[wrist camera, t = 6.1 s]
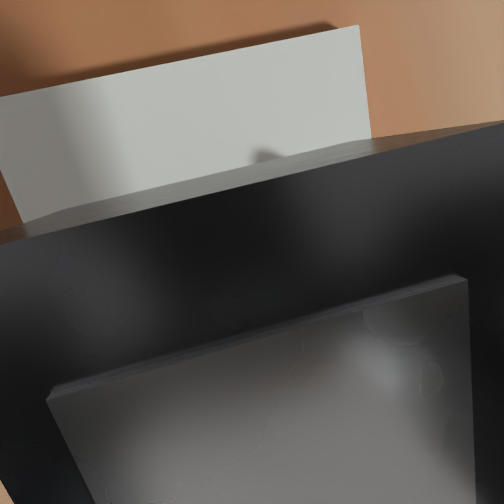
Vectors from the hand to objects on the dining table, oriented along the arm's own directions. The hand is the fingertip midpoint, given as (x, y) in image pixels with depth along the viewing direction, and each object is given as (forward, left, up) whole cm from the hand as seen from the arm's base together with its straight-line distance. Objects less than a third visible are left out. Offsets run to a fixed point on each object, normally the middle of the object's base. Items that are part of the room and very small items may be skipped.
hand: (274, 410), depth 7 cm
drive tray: (0, 0, -10) cm, 10 cm away
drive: (0, 0, -1) cm, 1 cm away
